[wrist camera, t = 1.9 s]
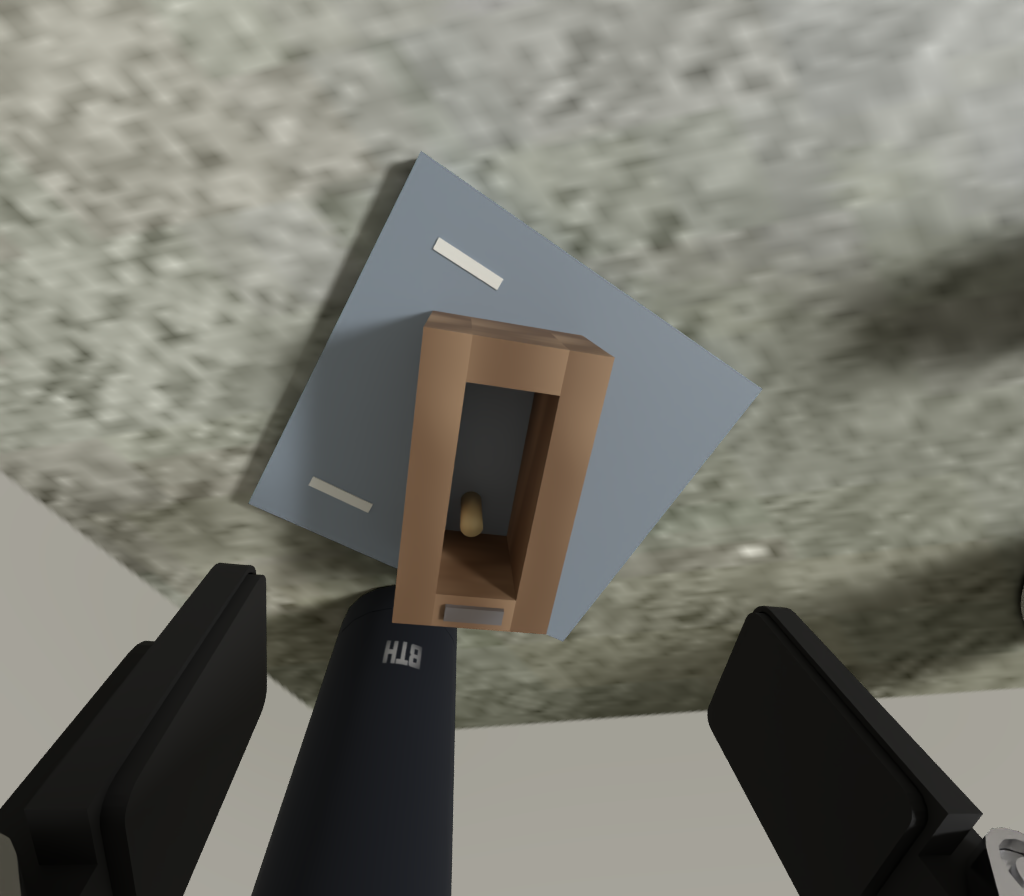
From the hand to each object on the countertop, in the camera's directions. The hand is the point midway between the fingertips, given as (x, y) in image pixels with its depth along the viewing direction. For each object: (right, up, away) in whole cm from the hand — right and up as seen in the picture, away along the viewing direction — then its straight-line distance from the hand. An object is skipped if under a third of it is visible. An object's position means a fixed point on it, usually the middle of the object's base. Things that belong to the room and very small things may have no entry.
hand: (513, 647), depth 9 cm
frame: (-1, +4, +14) cm, 14 cm away
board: (0, +4, +15) cm, 15 cm away
